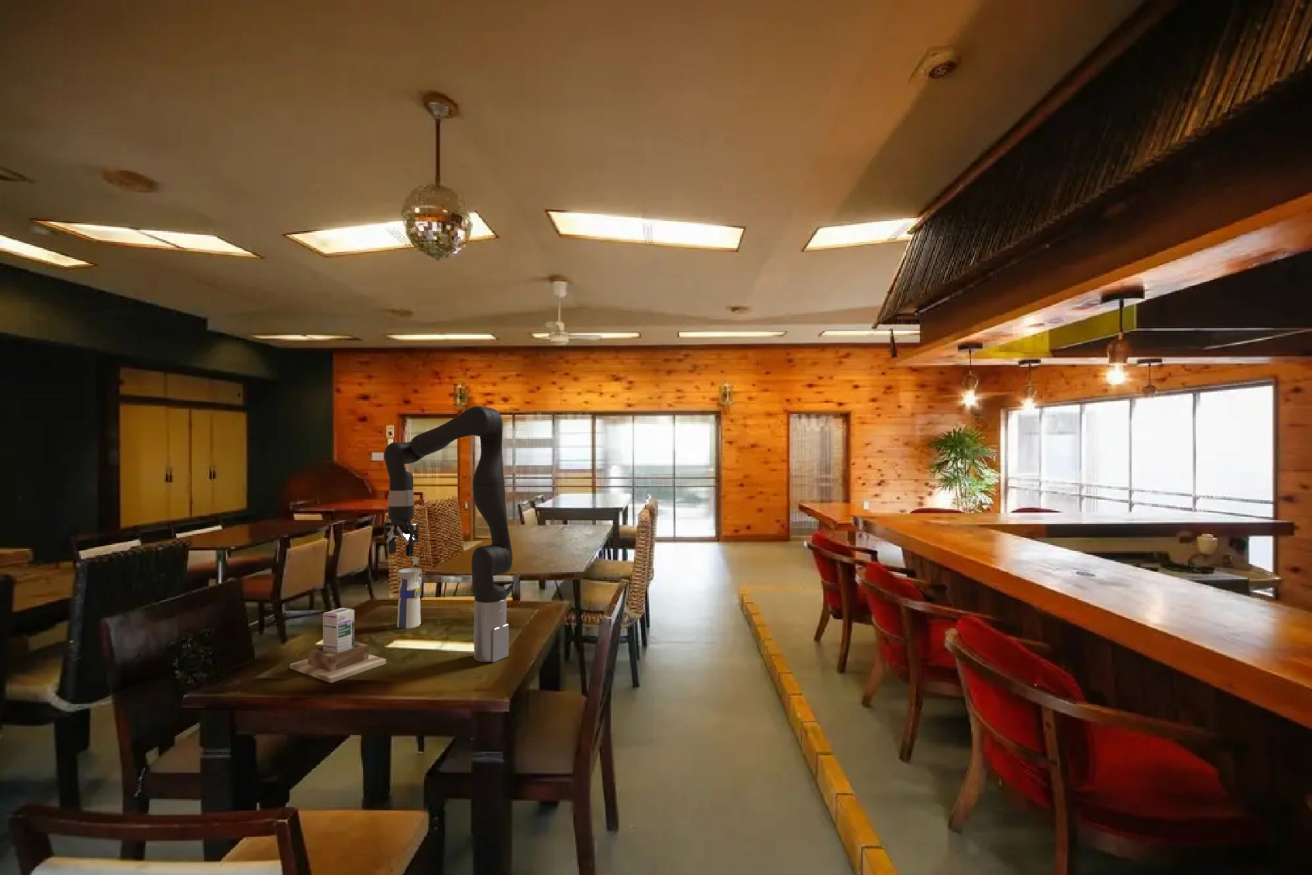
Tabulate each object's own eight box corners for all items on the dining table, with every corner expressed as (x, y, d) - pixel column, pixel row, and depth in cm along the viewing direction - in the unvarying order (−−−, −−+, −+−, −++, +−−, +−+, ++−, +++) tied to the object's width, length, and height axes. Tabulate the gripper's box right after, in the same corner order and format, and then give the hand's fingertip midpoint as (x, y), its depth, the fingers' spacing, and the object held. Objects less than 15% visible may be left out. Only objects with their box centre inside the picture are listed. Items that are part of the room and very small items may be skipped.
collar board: (386, 663, 165) (386, 645, 165) (330, 682, 151) (331, 663, 151) (345, 651, 175) (345, 634, 175) (290, 668, 161) (290, 649, 161)
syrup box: (336, 666, 159) (337, 614, 160) (322, 663, 161) (322, 611, 162) (354, 659, 164) (355, 608, 165) (339, 656, 167) (340, 606, 167)
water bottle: (427, 622, 204) (428, 552, 205) (412, 629, 196) (413, 556, 197) (407, 620, 206) (408, 551, 207) (391, 627, 198) (392, 555, 198)
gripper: (425, 504, 183) (425, 555, 182) (397, 502, 190) (397, 551, 189) (405, 506, 176) (404, 559, 176) (376, 504, 183) (376, 554, 183)
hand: (400, 554), depth 183 cm, fingers open, 8 cm apart
